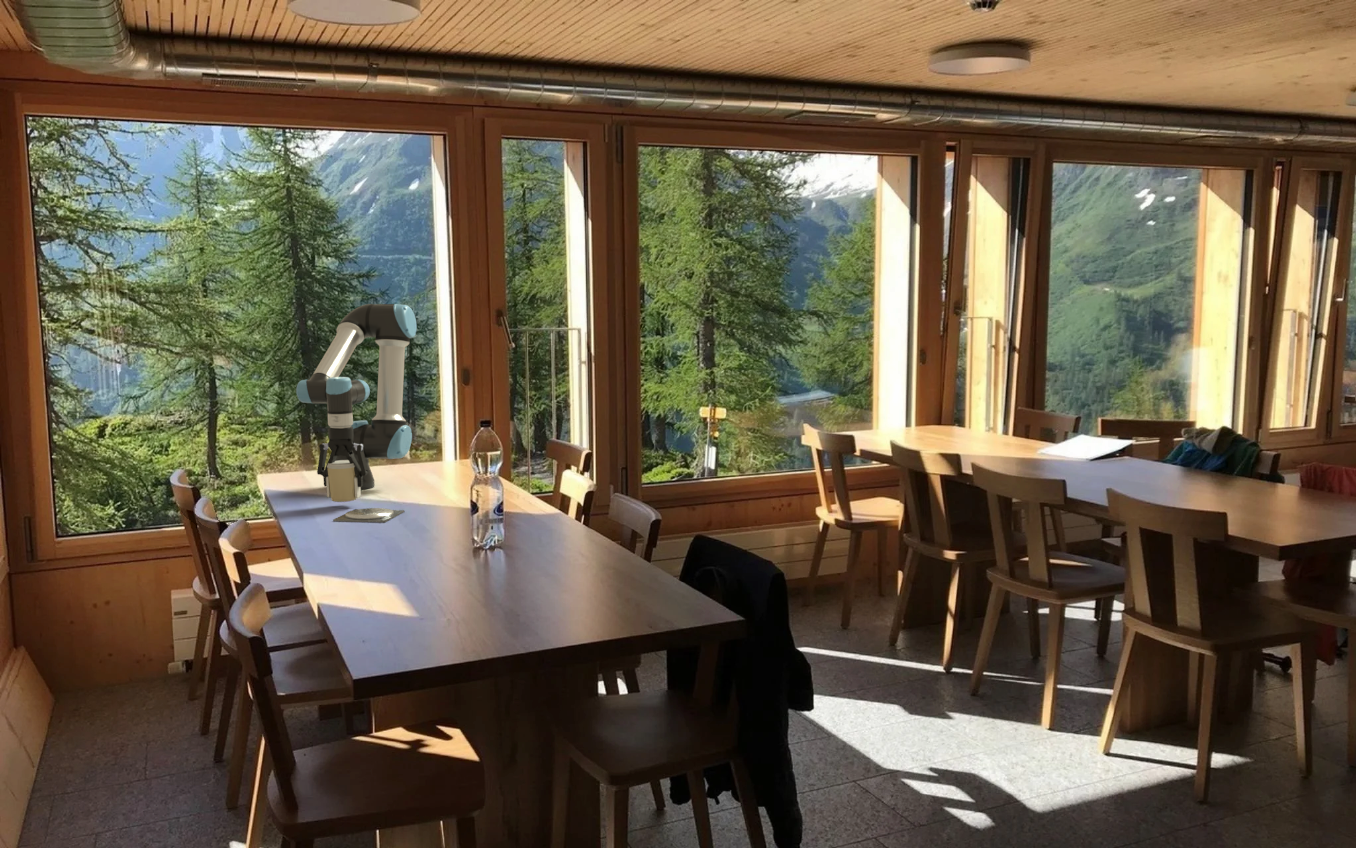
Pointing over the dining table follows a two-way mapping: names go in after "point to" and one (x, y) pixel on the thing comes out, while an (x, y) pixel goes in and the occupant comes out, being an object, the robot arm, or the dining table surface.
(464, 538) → the dining table surface
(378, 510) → the flange plate
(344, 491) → the coffee cup
